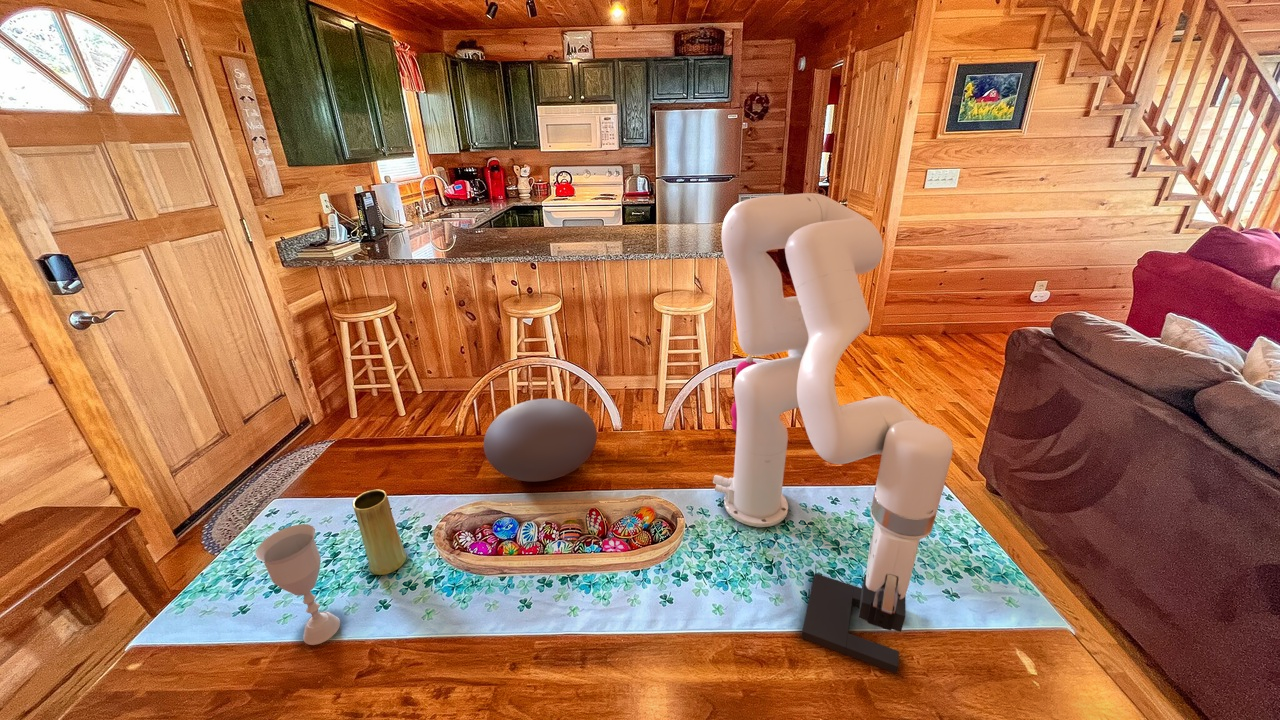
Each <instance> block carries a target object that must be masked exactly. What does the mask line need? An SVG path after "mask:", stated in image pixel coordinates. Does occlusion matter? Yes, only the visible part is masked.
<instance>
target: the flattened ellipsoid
mask: <svg viewBox="0 0 1280 720" xmlns="http://www.w3.org/2000/svg"><path fill="white" fill-rule="evenodd" d="M597 439H598V432H597V426H596V424H595V422H594V420H593V418H592V417H591V416H590V414H589V413H588V412H587V411H586V410H585V409H583V408H582V407H580V406H578V405H577V404H575V403H573V402H569V401H566V400H563V399H559V398H535V399H530V400H525V401H522V402H519V403H516V404H514V405H513V406H511V407H508V408H507V409H504V411H502V412H501V413H500V414H498V415H497V416H496V418H494V420H493V421H492V422H491V423H490V424H489V426H488V428H487V429H486V432H485V434H484V437H483V452H484V455H485V458H486V460H487V461H488V463H489V464H490V465H491V466H492V468H494V469H495V470H496V471H497V472H498V473H500V474H502V475H504V476H506V477H507V478H510V479H513V480H516V481H522V482H529V483H531V482H532V483H533V482H534V483H535V482H536V483H537V482H548V481H551V480H556V479H559V478H563V477H565V476H566V475H569V474H571V473H573V472H574V471H576V470H577V469H579V468H580V467H582V465H583V464H585V462H586V461H587V460H589V458H591V456H592V453H593V451H594V450H595V448H596V445H597Z"/></svg>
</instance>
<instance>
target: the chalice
mask: <svg viewBox="0 0 1280 720" xmlns="http://www.w3.org/2000/svg"><path fill="white" fill-rule="evenodd" d="M315 536H316V529H315V527H314V526H313V525H310V524H302V523H300V524H295V525H291V526H287V527H285V528H282V529H280V530H278V531H276V532H274V533H272V534H271V535H269V536H267V538H265V539H264V540H263V541H262V542H261V543H260V544H259V545H258V547H257V548H256V549H255V555H254V556H255V558H256V560H257V561H259V562H262V563H263V564H264V566H265V568H266V571H267V573H268V575H269V577H270V580H271V581H272V584H273V585H276V586H277V587H279V588H280V589H281V590H283V591H285V592H288V593H290V594H292V595H295V596H303V601H302V603H303V604H305V605H307V607H306V609H305V612H306V613H307V614H310V616H311V617H309V618H308V620H307V621H306V622H305V625H304V630H303V635H302V640H303V642H304V643H305V644H306V645H308V646H315V645H320V644H322V643H325V642H326V641H328V640H329V639H332V637H333V636H334V635H335V634H336V633H337V632H338V631H339V630H340V626H341V620H340V618H339V616H336V615H335V614H333V613H332V612H330V611H320V610H319V609H320V606H321V604H320V603H319V602H316V598H317V597H316V596H317V595H315V594H313V593H312V590H313V589H314V588H315V587H316V585H317V580H318V578H319V575H320V571H321V570H320V569H321V554H320V551H319V549H318V546H317V543H316V541H315Z"/></svg>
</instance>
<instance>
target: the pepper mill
mask: <svg viewBox="0 0 1280 720" xmlns="http://www.w3.org/2000/svg"><path fill="white" fill-rule="evenodd" d="M757 363H758V362H756V361H754V358H753V356H751V355H747V356H746V357H745V360H744V361H741V362H740V363H738V365H737V366H736V369H735V375H736V376H737V375H738V374H739V372H741V371H742V370H743V369H745V368H746V367H748V366H751V365H754V364H757ZM730 415H731V416H730V417H731V418H732V420H731V428H732V430H733V431H734V432H736V431H737V410H736V402H735V401H734V402H733V403H732V405H731V408H730Z"/></svg>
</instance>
